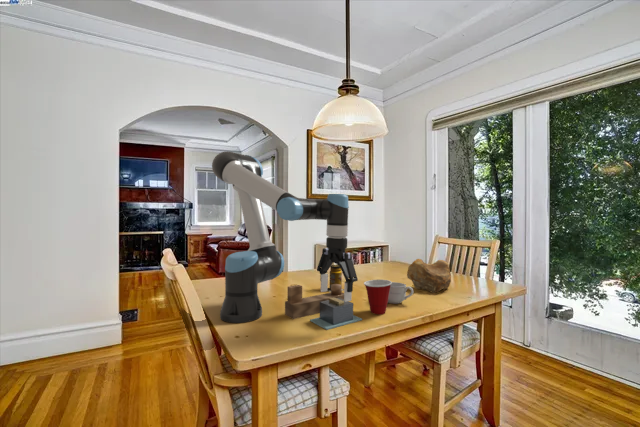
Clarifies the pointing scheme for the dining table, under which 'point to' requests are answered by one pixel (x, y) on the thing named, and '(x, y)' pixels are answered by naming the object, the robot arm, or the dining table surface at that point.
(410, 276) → the rough brown rock
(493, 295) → the dining table surface
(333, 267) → the condiment
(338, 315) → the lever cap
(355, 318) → the rubber mat
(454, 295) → the dining table surface
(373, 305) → the plastic cup
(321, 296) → the plane body
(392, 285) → the teacup
